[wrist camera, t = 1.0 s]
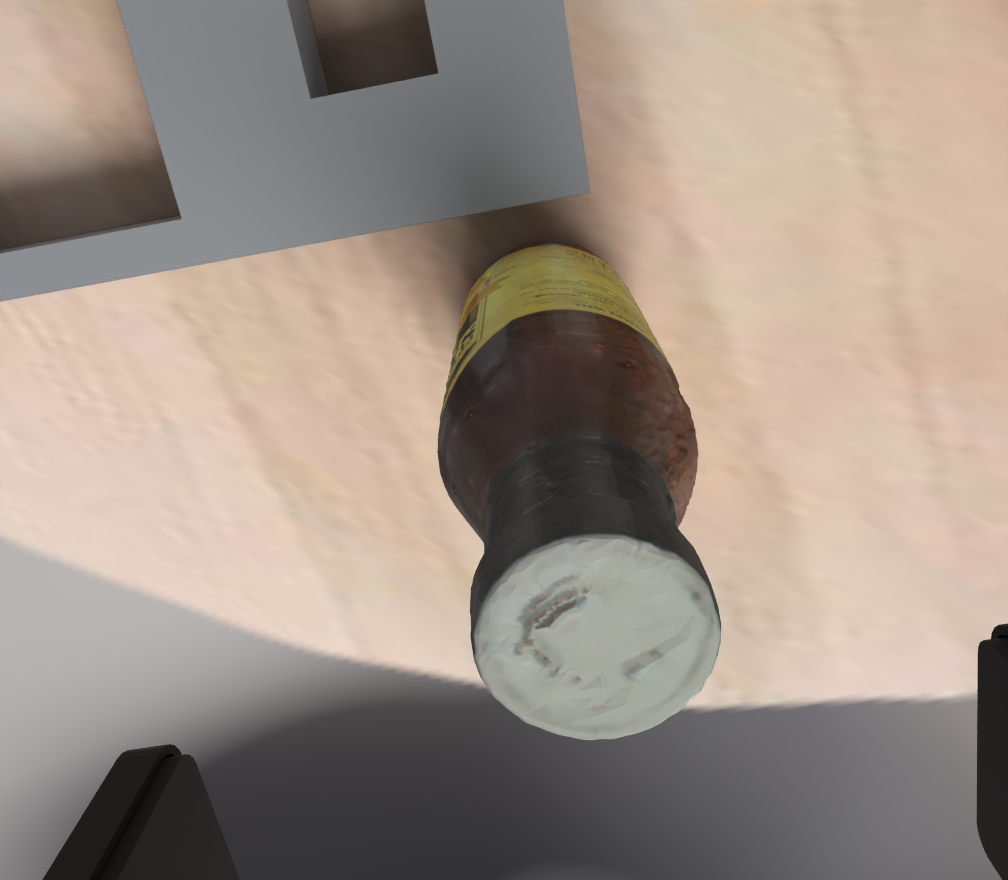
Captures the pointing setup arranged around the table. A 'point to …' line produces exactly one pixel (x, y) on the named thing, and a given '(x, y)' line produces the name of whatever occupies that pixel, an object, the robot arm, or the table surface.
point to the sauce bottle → (575, 499)
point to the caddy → (326, 135)
